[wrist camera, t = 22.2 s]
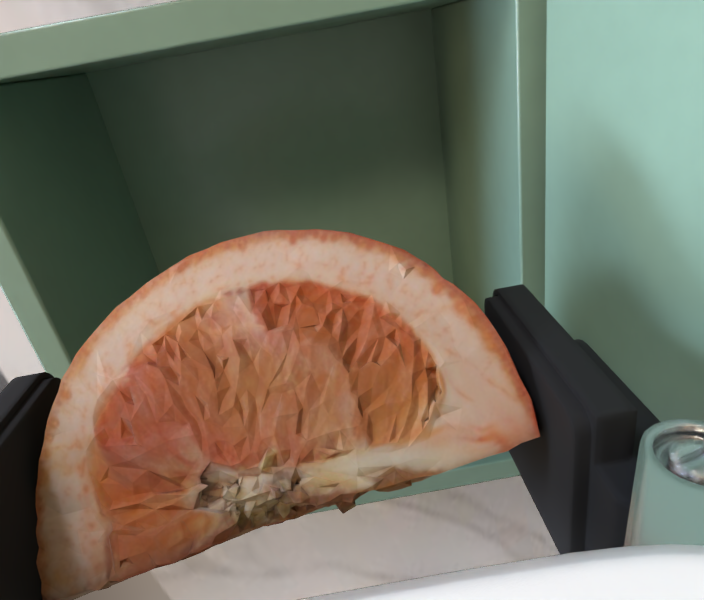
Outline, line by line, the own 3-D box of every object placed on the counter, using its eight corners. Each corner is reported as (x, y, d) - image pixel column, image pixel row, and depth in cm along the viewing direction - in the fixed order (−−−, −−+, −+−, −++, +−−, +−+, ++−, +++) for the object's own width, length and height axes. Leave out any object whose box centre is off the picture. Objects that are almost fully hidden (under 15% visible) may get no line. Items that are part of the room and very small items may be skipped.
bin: (190, 386, 25) (136, 546, 17) (63, 51, 18) (-125, 56, 10) (470, 334, 25) (548, 471, 17) (446, -20, 18) (554, -71, 10)
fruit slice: (187, 497, 14) (137, 713, 9) (33, 287, 11) (-149, 455, 6) (484, 392, 13) (582, 566, 9) (409, 140, 10) (498, 211, 6)
